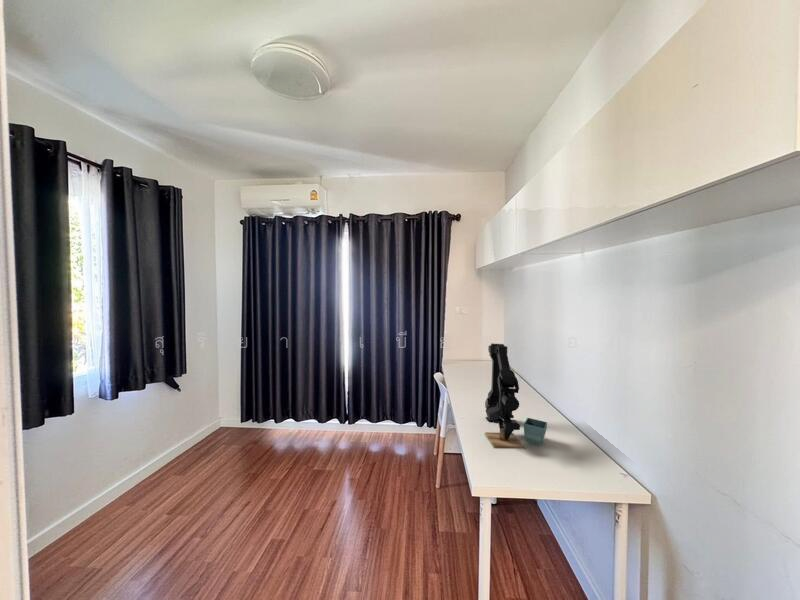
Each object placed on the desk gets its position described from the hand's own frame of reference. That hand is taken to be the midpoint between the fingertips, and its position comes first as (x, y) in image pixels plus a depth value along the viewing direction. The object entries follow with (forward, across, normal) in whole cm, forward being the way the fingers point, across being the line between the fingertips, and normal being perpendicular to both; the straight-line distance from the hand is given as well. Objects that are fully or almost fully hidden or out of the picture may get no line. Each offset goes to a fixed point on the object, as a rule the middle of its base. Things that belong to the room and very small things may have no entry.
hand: (504, 436), depth 151 cm
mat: (+2, 0, 0) cm, 2 cm away
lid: (+2, 0, 0) cm, 2 cm away
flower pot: (+3, 0, +14) cm, 14 cm away
